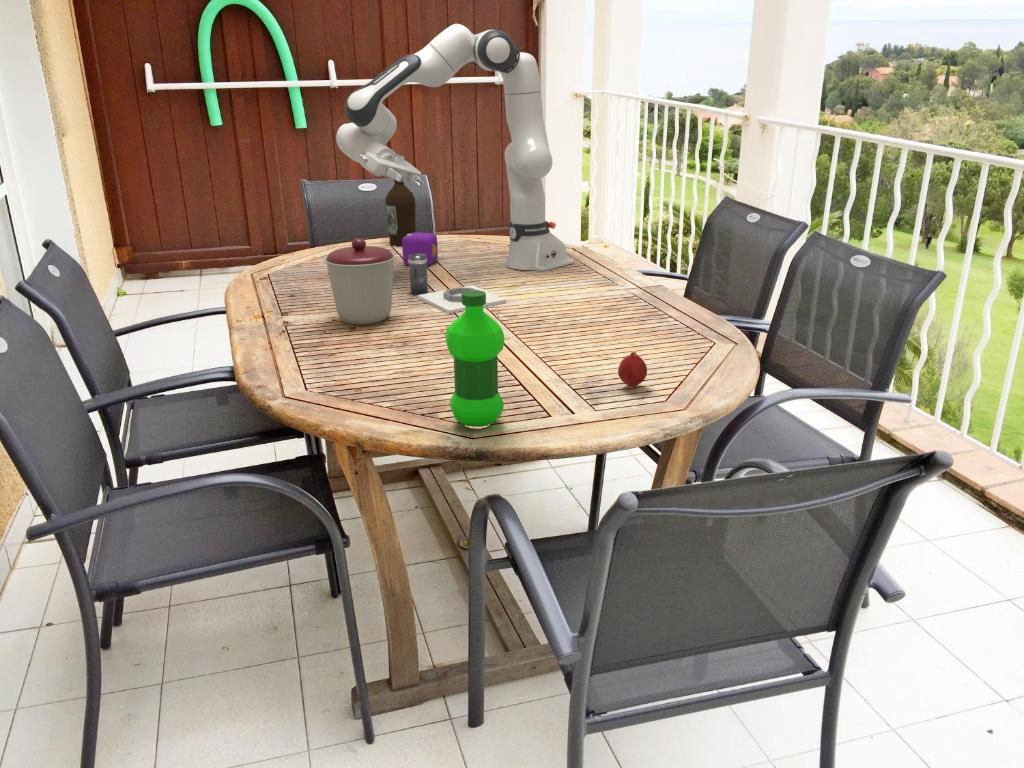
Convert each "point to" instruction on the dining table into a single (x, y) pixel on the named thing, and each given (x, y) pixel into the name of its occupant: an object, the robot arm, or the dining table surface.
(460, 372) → the plastic bottle
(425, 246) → the toy camera
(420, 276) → the lens tube
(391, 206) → the olive oil
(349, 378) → the dining table surface
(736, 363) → the dining table surface
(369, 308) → the canister
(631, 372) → the onion
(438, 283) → the dining table surface
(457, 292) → the mount board
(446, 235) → the dining table surface
